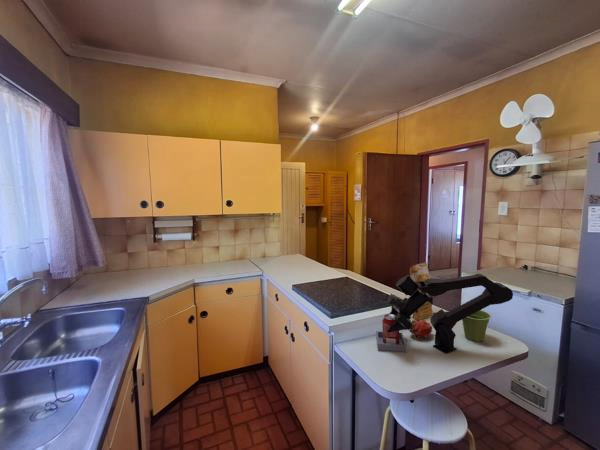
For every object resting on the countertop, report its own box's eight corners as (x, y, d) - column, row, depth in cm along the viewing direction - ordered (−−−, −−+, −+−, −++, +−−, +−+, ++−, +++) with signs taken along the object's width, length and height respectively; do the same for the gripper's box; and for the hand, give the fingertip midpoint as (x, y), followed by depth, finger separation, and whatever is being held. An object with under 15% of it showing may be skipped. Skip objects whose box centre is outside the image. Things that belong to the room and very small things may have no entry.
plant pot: (453, 336, 124) (453, 312, 123) (467, 329, 130) (468, 306, 129) (481, 347, 114) (482, 321, 113) (495, 339, 120) (496, 314, 119)
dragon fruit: (407, 341, 124) (428, 340, 127) (419, 337, 117) (442, 336, 121) (402, 322, 128) (422, 321, 132) (413, 317, 122) (435, 317, 125)
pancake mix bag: (404, 318, 145) (404, 265, 142) (426, 309, 155) (426, 260, 153) (416, 322, 139) (416, 268, 137) (437, 313, 149) (437, 262, 147)
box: (402, 339, 123) (402, 332, 123) (406, 352, 112) (406, 345, 112) (376, 337, 125) (376, 331, 125) (377, 350, 114) (377, 343, 114)
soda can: (397, 349, 114) (397, 321, 113) (380, 345, 117) (380, 318, 116) (400, 341, 120) (400, 315, 119) (385, 338, 123) (384, 312, 122)
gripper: (396, 282, 125) (371, 305, 128) (403, 296, 107) (374, 322, 110) (415, 300, 124) (389, 322, 127) (425, 317, 106) (395, 342, 109)
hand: (386, 326), depth 118 cm, fingers open, 9 cm apart
